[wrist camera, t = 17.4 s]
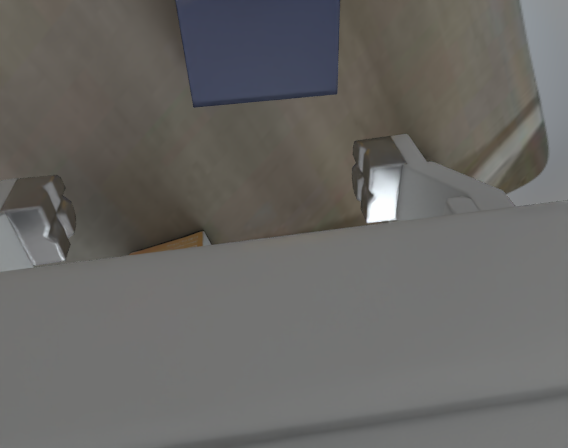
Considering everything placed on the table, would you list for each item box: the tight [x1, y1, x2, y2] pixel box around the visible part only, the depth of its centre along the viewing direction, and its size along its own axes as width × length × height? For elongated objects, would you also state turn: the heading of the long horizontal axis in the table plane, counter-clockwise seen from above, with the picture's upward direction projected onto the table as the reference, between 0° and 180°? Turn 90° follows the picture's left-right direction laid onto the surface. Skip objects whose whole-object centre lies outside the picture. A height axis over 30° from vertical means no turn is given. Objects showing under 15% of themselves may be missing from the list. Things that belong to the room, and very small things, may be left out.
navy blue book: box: [175, 0, 340, 107], centre depth 33 cm, size 8×10×5 cm
